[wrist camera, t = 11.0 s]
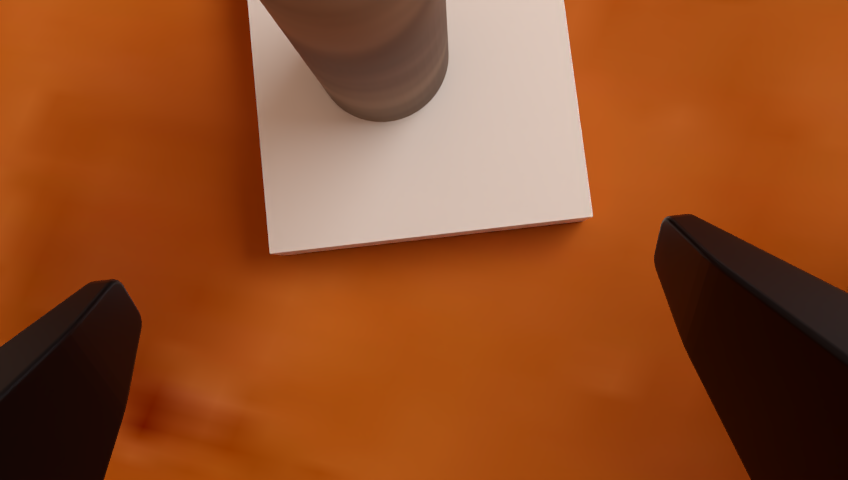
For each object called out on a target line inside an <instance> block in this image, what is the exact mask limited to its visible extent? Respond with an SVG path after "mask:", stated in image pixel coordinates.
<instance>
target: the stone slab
mask: <svg viewBox="0 0 848 480" xmlns="http://www.w3.org/2000/svg"><path fill="white" fill-rule="evenodd" d="M248 12H249V23H250V35H251V46H252V58H253V69H254V80H255V92H256V103H257V115H258V126H259V138H260V149H261V160H262V172H263V183H264V195H265V206H266V217H267V229H268V240H269V252H270V254H275V255H282V256H283V255H292V254H300V253H309V252H318V251H326V250H335V249H344V248H353V247H361V246H370V245H379V244H387V243H396V242H405V241H414V240H422V239H431V238H440V237H448V236H457V235H466V234H475V233H483V232H492V231H501V230H510V229H518V228H527V227H536V226H544V225H553V224H562V223H571V222H579V221H585V220H587V219H589V218H591V217H593V213H592V206H591V198H590V191H589V183H588V176H587V169H586V161H585V154H584V146H583V139H582V131H581V124H580V117H579V109H578V102H577V94H576V87H575V80H574V72H573V65H572V57H571V50H570V43H569V35H568V28H567V20H566V13H565V5H564V0H446V12H447V31H448V51H449V58H448V67H447V72H446V75H445V78H444V80H443V83H442V85H441V87H440V88H439V90H438V92H437V93H436V95H435V96H434V97H433V98H432V100H431V101H430V102H428V103H427V104H426V105H425V106H424V107H423V108H421V109H420V110H419V111H417V112H415V113H414V114H412V115H410V116H408V117H405V118H403V119H399V120H395V121H388V122H374V121H367V120H364V119H360V118H357V117H355V116H353V115H351V114H349V113H347V112H346V111H344V110H343V109H342V108H340V107H339V106H338V105H337V104H336V103H335V102H334V101H333V100H332V99H331V97H330V96H329V95H328V93H327V92H326V90H325V89H324V88H323V86H322V85H321V84H320V82H319V81H318V80H317V78H316V77H315V75H314V74H313V73H312V71H311V70H310V69H309V67H308V66H307V64H306V63H305V62H304V60H303V59H302V58H301V56H300V55H299V53H298V52H297V51H296V49H295V48H294V47H293V45H292V44H291V43H290V41H289V40H288V38H287V37H286V36H285V34H284V33H283V32H282V30H281V29H280V27H279V26H278V25H277V23H276V22H275V21H274V19H273V18H272V16H271V15H270V14H269V12H268V11H267V10H266V8H265V7H264V6H263V4H262V3H261V1H260V0H248Z"/></svg>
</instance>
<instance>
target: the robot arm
mask: <svg viewBox="0 0 848 480" xmlns="http://www.w3.org/2000/svg"><path fill="white" fill-rule="evenodd" d="M654 263H655V268H656V271H657V274H658V277H659V279H660V282H661V285H662V288H663V290H664V293H665V296H666V299H667V301H668V304H669V307H670V310H671V313H672V315H673V318H674V321H675V324H676V326H677V329H678V332H679V335H680V337H681V340H682V342H683V345H684V347H685V349H686V351H687V353H688V355H689V358H690V360H691V362H692V364H693V366H694V368H695V370H696V372H697V374H698V376H699V378H700V380H701V382H702V383H703V385H704V387H705V389H706V391H707V393H708V395H709V397H710V399H711V401H712V403H713V405H714V407H715V409H716V411H717V413H718V415H719V417H720V419H721V421H722V423H723V425H724V427H725V429H726V431H727V433H728V435H729V437H730V439H731V441H732V443H733V445H734V447H735V449H736V451H737V453H738V455H739V457H740V459H741V461H742V463H743V465H744V467H745V469H746V471H747V473H748V475H749V477H750V479H751V480H848V293H846V292H844V291H842V290H840V289H838V288H837V287H835V286H833V285H831V284H829V283H827V282H825V281H823V280H821V279H819V278H817V277H815V276H813V275H811V274H809V273H807V272H805V271H803V270H801V269H799V268H797V267H795V266H793V265H791V264H789V263H787V262H785V261H783V260H781V259H779V258H777V257H775V256H773V255H771V254H769V253H767V252H765V251H763V250H761V249H759V248H757V247H755V246H754V245H752V244H750V243H748V242H746V241H744V240H742V239H740V238H738V237H736V236H734V235H732V234H730V233H728V232H726V231H724V230H722V229H720V228H718V227H716V226H714V225H712V224H710V223H708V222H706V221H704V220H702V219H700V218H698V217H696V216H694V215H692V214H683V215H674V216H668V217H666V218H665V219H664V220H663V221H662V224H661V227H660V232H659V236H658V241H657V245H656V250H655V255H654ZM141 326H142V321H141V316H140V313H139V311H138V309H137V308H136V306H135V304H134V303H133V301H132V299H131V298H130V296H129V294H128V293H127V291H126V289H125V288H124V286H123V284H122V283H121V282H119V281H118V280H115V279H110V280H101V281H94V282H90V283H88V284H87V285H85V286H84V287H82V288H81V289H80V290H78V291H77V292H76V293H74V294H73V295H71V296H70V297H69V298H67V299H66V300H65V301H63V302H62V303H60V304H59V305H58V306H56V307H55V308H54V309H52V310H51V311H49V312H48V313H47V314H45V315H44V316H42V317H41V318H40V319H38V320H37V321H36V322H34V323H33V324H31V325H30V326H29V327H27V328H26V329H25V330H23V331H22V332H20V333H19V334H18V335H16V336H15V337H14V338H12V339H11V340H9V341H8V342H7V343H5V344H4V345H2V346H1V347H0V480H104V477H105V474H106V471H107V467H108V464H109V461H110V458H111V455H112V451H113V448H114V445H115V442H116V439H117V435H118V432H119V429H120V426H121V423H122V419H123V415H124V412H125V408H126V404H127V400H128V395H129V390H130V385H131V380H132V374H133V369H134V364H135V359H136V354H137V348H138V343H139V338H140V333H141Z"/></svg>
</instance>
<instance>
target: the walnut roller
mask: <svg viewBox="0 0 848 480" xmlns="http://www.w3.org/2000/svg"><path fill="white" fill-rule="evenodd" d="M260 1H261V3H262V4H263V6H264V7H265V8H266V10H267V11H268V12H269V14H270V15H271V16H272V18H273V19H274V21H275V22H276V23H277V25H278V26H279V27H280V29H281V30H282V32H283V33H284V34H285V36H286V37H287V38H288V40H289V41H290V43H291V44H292V45H293V47H294V48H295V49H296V51H297V52H298V53H299V55H300V56H301V58H302V59H303V60H304V62H305V63H306V64H307V66H308V67H309V69H310V70H311V71H312V73H313V74H314V75H315V77H316V78H317V80H318V81H319V82H320V84H321V85H322V86H323V88H324V89H325V90H326V92H327V93H328V95H329V96H330V97H331V99H332V100H333V101H334V102H335V103H336V104H337V105H338V106H339V107H340V108H342V109H343V110H344V111H346V112H347V113H349V114H351V115H353V116H355V117H357V118H360V119H364V120H367V121H374V122H388V121H395V120H399V119H403V118H405V117H408V116H410V115H412V114H414V113H415V112H417V111H419V110H420V109H421V108H423V107H424V106H425V105H426V104H427V103H428V102H430V101H431V100H432V98H433V97H434V96H435V95H436V93H437V92H438V90H439V88H440V87H441V85H442V83H443V80H444V78H445V75H446V72H447V67H448V58H449V51H448V31H447V12H446V0H260Z"/></svg>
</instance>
